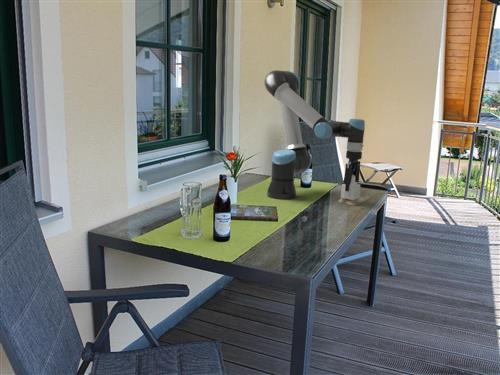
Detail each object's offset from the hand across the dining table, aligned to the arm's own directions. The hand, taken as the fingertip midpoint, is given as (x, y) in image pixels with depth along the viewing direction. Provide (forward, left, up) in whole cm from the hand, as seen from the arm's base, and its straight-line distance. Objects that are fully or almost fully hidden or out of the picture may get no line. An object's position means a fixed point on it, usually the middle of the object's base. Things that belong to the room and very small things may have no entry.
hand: (349, 195), depth 248 cm
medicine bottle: (0, 0, -1) cm, 1 cm away
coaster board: (0, +6, -4) cm, 7 cm away
